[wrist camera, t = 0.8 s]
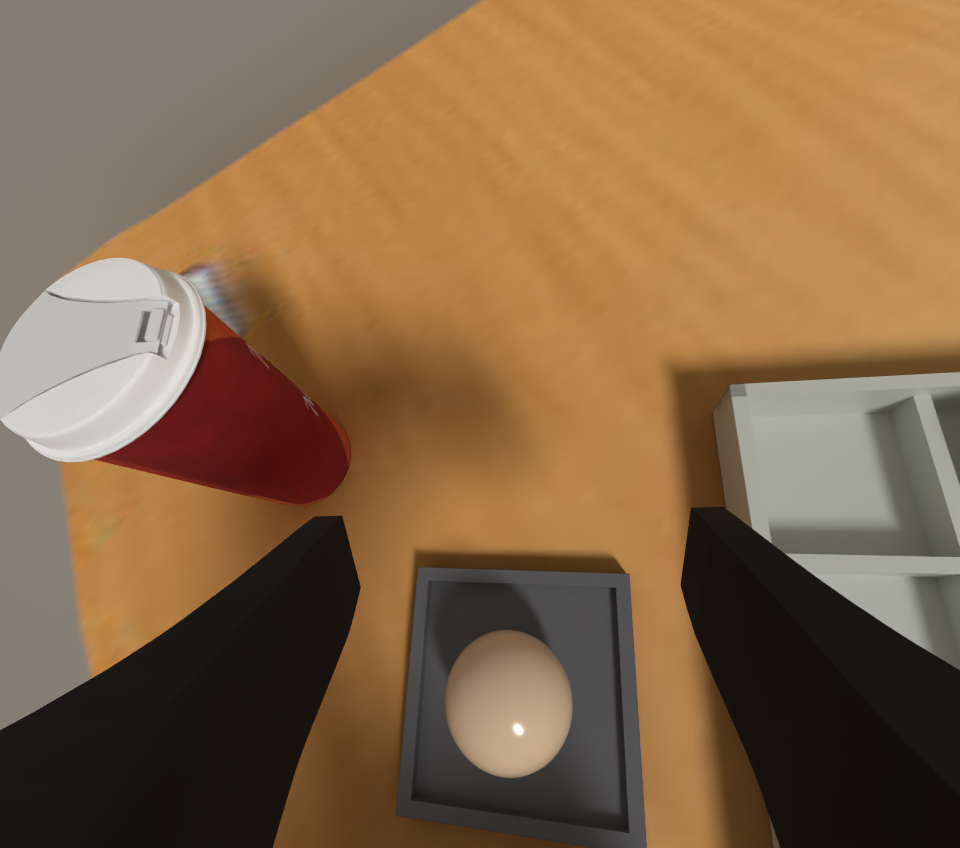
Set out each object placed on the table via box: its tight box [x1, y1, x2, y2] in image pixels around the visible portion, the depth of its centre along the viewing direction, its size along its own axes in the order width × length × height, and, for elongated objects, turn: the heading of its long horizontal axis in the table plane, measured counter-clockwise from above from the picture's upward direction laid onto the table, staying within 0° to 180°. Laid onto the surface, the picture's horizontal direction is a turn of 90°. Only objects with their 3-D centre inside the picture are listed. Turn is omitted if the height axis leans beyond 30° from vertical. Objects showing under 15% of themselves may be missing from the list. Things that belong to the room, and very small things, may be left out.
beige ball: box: [445, 630, 573, 778], centre depth 19 cm, size 5×5×5 cm
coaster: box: [396, 567, 647, 848], centre depth 21 cm, size 10×10×1 cm
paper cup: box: [0, 258, 351, 506], centre depth 22 cm, size 8×8×14 cm
